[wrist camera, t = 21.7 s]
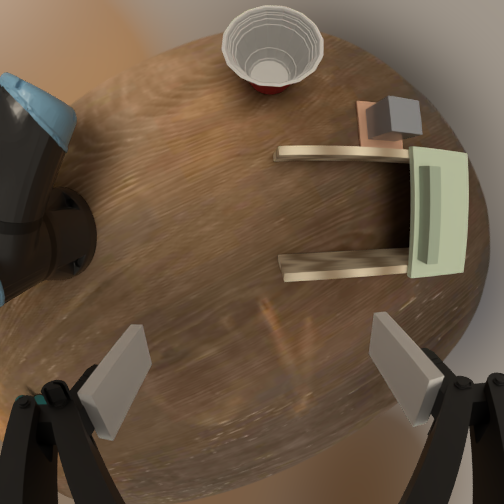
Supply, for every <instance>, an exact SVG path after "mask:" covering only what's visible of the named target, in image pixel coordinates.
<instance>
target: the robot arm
mask: <svg viewBox="0 0 504 504" xmlns="http://www.w3.org/2000/svg"><path fill="white" fill-rule="evenodd" d="M76 123H77V116H76V113H75V111H74V110H73V108H71V107H70V106H69V105H67V104H66V103H64V102H62V101H61V100H59V99H57V98H56V97H54V96H52V95H51V94H49V93H47V92H45V91H43V90H41V89H40V88H38V87H36V86H34V85H32V84H30V83H28V82H25V81H24V80H22V79H20V78H18V77H17V76H14V75H12V74H10V73H7V72H6V73H3V74H2V75H1V77H0V307H1V306H3V305H4V304H5V303H6V302H8V301H10V300H11V299H13V298H15V297H16V296H18V295H20V294H21V293H23V292H25V291H26V290H28V289H30V288H31V287H33V286H35V285H37V284H38V283H40V282H42V281H44V280H67V279H70V278H72V277H74V276H76V275H78V274H79V273H81V272H82V271H84V270H85V269H86V267H87V266H88V265H89V263H90V262H91V260H92V257H93V255H94V251H95V247H96V227H95V222H94V218H93V215H92V213H91V210H90V208H89V206H88V205H87V203H86V202H85V200H84V199H83V198H82V197H81V196H80V195H79V194H78V193H76V192H75V191H73V190H71V189H69V188H64V187H56V188H53V185H54V182H55V179H56V176H57V174H58V171H59V168H60V166H61V163H62V161H63V158H64V156H65V153H67V151H68V144H69V142H70V139H71V136H72V134H73V131H74V129H75V126H76ZM369 355H370V357H371V358H372V360H373V361H374V363H375V365H376V366H377V368H378V370H379V371H380V373H381V374H382V376H383V378H384V379H385V381H386V383H387V384H388V386H389V388H390V389H391V391H392V393H393V394H394V396H395V398H396V399H397V401H398V403H399V404H400V406H401V408H402V410H403V411H404V413H405V414H406V416H407V418H408V420H409V422H410V423H411V425H412V427H416V426H418V425H422V424H425V423H427V421H428V419H429V416H430V414H432V416H433V417H434V421H433V423H432V426H431V428H430V430H429V432H428V438H427V441H426V443H425V446H424V449H423V451H422V453H421V456H420V458H419V461H418V463H417V466H416V468H415V470H414V473H413V475H412V477H411V479H410V481H409V483H408V486H407V488H406V490H405V492H404V494H403V496H402V498H401V500H400V502H399V503H398V504H448V502H449V499H450V496H451V493H452V490H453V487H454V484H455V481H456V477H457V474H458V471H459V466H460V463H461V459H462V455H463V451H464V447H465V443H466V438H467V433H468V428H470V439H471V449H472V468H473V504H504V374H502V373H492V374H490V375H489V377H488V378H487V381H486V383H479V384H474V383H473V381H472V380H471V379H469V378H467V377H464V376H455V374H454V373H453V372H452V371H451V370H450V369H449V368H448V367H447V366H446V365H445V364H444V363H443V361H442V360H441V359H440V358H439V357H438V356H437V355H436V354H435V353H434V352H433V351H431V350H429V349H427V348H422V349H420V348H419V347H418V346H417V345H416V344H415V342H414V341H413V340H412V339H411V338H410V337H409V336H408V335H407V334H406V333H405V332H404V331H403V329H402V328H401V327H400V326H399V325H398V324H397V323H396V322H395V321H394V320H393V319H392V318H391V317H390V316H389V315H388V314H387V312H378V313H374V316H373V325H372V333H371V341H370V348H369ZM151 365H152V362H151V358H150V354H149V350H148V346H147V342H146V337H145V333H144V328H143V325H135V324H131V325H130V326H129V327H128V329H127V330H126V331H125V332H124V334H123V335H122V336H121V337H120V338H119V340H118V341H117V342H116V343H115V345H114V346H113V347H112V349H111V350H110V351H109V352H108V354H107V355H106V356H105V357H104V359H103V360H102V361H101V363H100V364H99V365H95V364H94V365H93V366H91V367H90V368H88V369H87V370H86V371H85V372H84V374H83V375H82V376H81V377H80V379H79V381H77V382H76V384H75V385H74V386H73V387H72V389H71V390H70V391H69V388H68V386H67V384H66V383H65V382H64V381H62V380H54V381H51V382H48V383H47V384H45V385H44V386H43V387H42V390H41V393H42V395H43V397H44V399H45V401H46V403H47V404H37V402H36V400H35V398H34V397H32V396H28V395H26V396H22V397H19V398H18V399H17V400H16V401H15V402H14V404H13V407H12V411H11V414H10V418H9V421H8V425H7V429H6V433H5V437H4V441H3V446H2V450H1V455H0V504H58V490H57V458H58V452H59V456H60V460H61V463H62V467H63V470H64V473H65V476H66V479H67V482H68V485H69V488H70V491H71V494H72V496H73V499H74V502H75V504H125V502H124V500H123V499H122V497H121V495H120V493H119V491H118V489H117V488H116V486H115V484H114V482H113V480H112V478H111V476H110V474H109V472H108V470H107V468H106V466H105V463H104V461H103V459H102V457H101V455H100V452H99V450H98V448H97V446H96V443H95V441H94V439H93V437H92V433H93V431H94V429H95V431H96V433H97V435H98V437H99V438H103V439H107V440H112V441H113V440H114V438H115V436H116V434H117V432H118V430H119V428H120V426H121V424H122V422H123V420H124V418H125V416H126V414H127V412H128V410H129V408H130V406H131V404H132V402H133V400H134V398H135V396H136V394H137V392H138V390H139V388H140V386H141V384H142V383H143V381H144V379H145V377H146V375H147V373H148V371H149V369H150V367H151Z"/></svg>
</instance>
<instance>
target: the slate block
mask: <svg viewBox="0 0 504 504" xmlns="http://www.w3.org/2000/svg"><path fill="white" fill-rule="evenodd" d="M366 121H367V133H368V139H371V140H384V141H399V140H403V139H407V138H411V137H415V136H419V135H422V125H421V116H420V108H419V101H417V100H412V99H406V98H400V97H393V96H387V97H385V98H384V99H382V100H380V101H379V102H377V103H375V104H374V105H372V106H371V107H369V108H367V109H366Z"/></svg>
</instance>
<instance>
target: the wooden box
mask: <svg viewBox="0 0 504 504" xmlns="http://www.w3.org/2000/svg"><path fill="white" fill-rule="evenodd" d="M273 160H274V162H277V161H368V162H390V163H407V164H410V159H409V150H404V149H392V148H377V147H356V146H278V148H277V149H276V151H275V152H274V154H273ZM408 260H409V248H392V249H374V250H356V251H338V252H319V253H300V254H281V255H278V263H279V266H280V270H281V273H282V276H283V280H284V282H291V281H307V280H322V279H336V278H350V277H363V276H375V275H387V274H398V273H407V272H408Z"/></svg>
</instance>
